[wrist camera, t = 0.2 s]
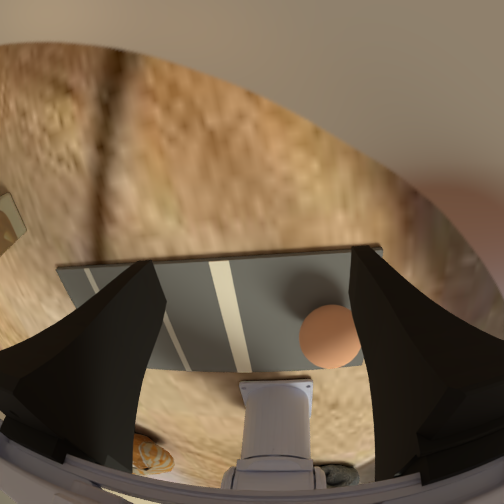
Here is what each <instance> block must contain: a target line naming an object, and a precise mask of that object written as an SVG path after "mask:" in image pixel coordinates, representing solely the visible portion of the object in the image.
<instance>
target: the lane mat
mask: <svg viewBox="0 0 504 504" xmlns="http://www.w3.org/2000/svg"><path fill="white" fill-rule="evenodd" d="M372 249H373V250H374V251H375V252H376V253H377V254H379V255H380V256H381V257H382V256H383V249H382V247H377V248H372ZM132 264H134V263H124V264H107V265H90V266H73V267H58V268H57V269H56V271H57V273H58V275H59V277H60V279H61V281H62V283H63V285H64V287H65V289H66V291H67V293H68V295H69V296H70V298H71V300H72V302H73V304H74V305H75V307H76V309H77V308H78V307H80V306H81V305H82V304H84V303H85V302H86V301H87V300H89V299H90V298H91V297H92V296H94V295H95V294H96V293H98V292H99V291H100V290H101V289H102V288H104V287H105V286H106V285H107V284H108V283H110V282H111V281H112V280H113V279H115V278H116V277H117V276H118V275H119V274H121V273H122V272H123V271H124V270H126V269H127V268H128V267H130V266H131V265H132ZM153 265H154V268H155V270H156V273H157V276H158V279H159V281H160V284H161V287H162V290H163V292H164V295H165V298H166V300H167V304H166V309H165V314H164V318H163V323H162V326H161V329H160V332H159V335H158V337H157V340H156V343H155V346H154V348H153V351H152V354H151V357H150V360H149V362H148V365H147V368H149V369H162V370H178V371H189V372H192V371H200V372H238V373H252V372H277V371H299V370H315V369H327V368H322V367H318V366H316V365H314V364H313V363H311V362H310V361H309V360H308V359H307V358H306V357H305V356H304V354H303V352H302V350H301V347H300V343H299V332H300V328H301V325H302V323H303V321H304V320H305V318H306V317H307V316H308V315H309V314H310V313H311V312H312V311H313V310H315V309H317V308H319V307H321V306H325V305H340V306H343V307H345V308H347V309H349V310H351V306H350V300H349V294H348V290H349V278H350V265H351V249H347V250H332V251H317V252H301V253H286V254H270V255H254V256H238V257H222V258H206V259H190V260H174V261H157V262H153ZM363 358H364V356H363V352H362V349H361V348H360V350H359V352H358V354H357V355H356V356H355V358H354V359H353V360H352V361H350V362H349V363H347V364H346V365H344V366H341V367H350V366H359V365H362V362H363ZM338 368H340V367H338Z"/></svg>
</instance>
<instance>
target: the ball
mask: <svg viewBox="0 0 504 504" xmlns="http://www.w3.org/2000/svg"><path fill="white" fill-rule="evenodd" d="M299 343H300V347H301V350H302V352H303V354H304V356H305V357H306V358H307V359H308V360H309V361H310V362H311V363H313V364H314V365H316V366H318V367H322V368H327V369H333V368H338V367H341V366H344V365H346V364H347V363H349V362H350V361H352V360H353V359H354V358H355V356H356V355H357V354H358V352H359V350H360V348H361V345H360V342H359V338H358V335H357V331H356V328H355V324H354V321H353V317H352V312H351V310H349V309H347V308H345V307H343V306H340V305H325V306H321V307H319V308H317V309H315V310H313V311H312V312H311V313H310V314H309V315H308V316H307V317H306V318H305V320H304V321H303V323H302V325H301V328H300V332H299Z"/></svg>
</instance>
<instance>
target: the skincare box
mask: <svg viewBox="0 0 504 504" xmlns="http://www.w3.org/2000/svg"><path fill="white" fill-rule="evenodd" d="M26 231H27V230H26V228H25V226H24V224H23V222H22V219H21V217H20V215H19V213H18V211H17V208H16V206H15V204H14V202H13V200H12V197H11V195H10V193H6V194H4V195H2V196H0V256H1V255H2V254H3V253H4V252H5V251H6V250H7V249H9V248H10V247H11V246H12V245H13V244H14V243H15V242H16V241H17V240H18V239H19V238H20V237H21V236H22V235H23V234H24V233H25V232H26Z"/></svg>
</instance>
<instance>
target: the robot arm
mask: <svg viewBox="0 0 504 504" xmlns="http://www.w3.org/2000/svg"><path fill="white" fill-rule="evenodd" d="M348 294H349V300H350V306H351V312H352V317H353V321H354V324H355V328H356V331H357V335H358V338H359V342H360V345H361V349H362V352H363V356H364V360H365V363H366V367H367V372H368V377H369V383H370V391H371V399H372V409H373V420H374V436H375V482H372V483H366V484H359V485H352V486H345V487H336V488H326V476H325V472H324V471H323V470H322V469H321V468H320V467H319V466H316V467H313V459H311V451H310V417H311V408H312V393H313V380H311V379H299V380H276V381H241V382H239V388H240V391H241V394H242V397H243V401H244V404H245V407H246V411H245V421H244V431H243V442H242V452H241V459H238V460H237V466H236V467H234V466H232V467H230V468H229V469H228V470H227V471H226V472H225V473H224V476H223V479H222V483H221V489H220V488H210V487H201V486H193V485H186V484H180V483H174V482H168V481H162V480H157V479H152V478H148V477H143V476H139V475H134V474H132V473H133V441H134V430H135V420H136V414H137V407H138V401H139V396H140V391H141V386H142V381H143V378H144V374H145V371H146V368H147V365H148V362H149V360H150V357H151V354H152V351H153V348H154V346H155V343H156V340H157V337H158V335H159V332H160V329H161V326H162V323H163V318H164V314H165V309H166V304H167V300H166V298H165V295H164V292H163V290H162V287H161V284H160V281H159V279H158V276H157V273H156V270H155V268H154V265H153V262H152V260H145V261H137V262H135V263H134V264H132V265H131V266H130V267H128V268H127V269H126V270H124V271H123V272H122V273H121V274H119V275H118V276H117V277H116V278H115V279H113V280H112V281H111V282H110V283H108V284H107V285H106V286H105V287H104V288H102V289H101V290H100V291H99V292H98V293H96V294H95V295H94V296H92V297H91V298H90V299H89V300H87V301H86V302H85V303H84V304H82V305H81V306H80V307H78V308H77V309H76V310H74V311H73V312H72V313H70V314H69V315H67V316H66V317H64V318H63V319H61V320H60V321H58V322H57V323H55V324H54V325H52V326H50V327H48V328H47V329H45V330H43V331H42V332H40V333H38V334H36V335H35V336H33V337H31V338H29V339H27V340H25V341H23V342H20V343H18V344H16V345H14V346H11V347H9V348H6V349H4V350H1V351H0V411H1V412H3V413H4V414H5V415H6V417H5V419H4V421H3V420H1V419H0V490H1V491H2V492H4V493H5V494H6V495H7V496H9V497H10V498H11V499H12V500H14V501H15V502H16V503H17V504H133V503H131V502H129V501H127V500H125V499H123V498H122V497H120V496H117V495H115V494H112V493H109V492H107V491H104V490H102V488H106V489H108V490H111V491H115V492H118V493H122V494H125V495H128V496H132V497H136V498H140V499H144V500H148V501H152V502H157V503H161V504H504V340H501V339H499V338H496V337H494V336H492V335H490V334H488V333H486V332H484V331H482V330H480V329H478V328H476V327H474V326H472V325H470V324H468V323H467V322H465V321H463V320H462V319H460V318H458V317H456V316H455V315H453V314H452V313H450V312H448V311H447V310H445V309H444V308H442V307H441V306H440V305H438V304H437V303H435V302H434V301H432V300H431V299H430V298H428V297H427V296H426V295H424V294H423V293H422V292H421V291H419V290H418V289H417V288H416V287H414V286H413V285H412V284H411V283H409V282H408V281H407V280H406V279H405V278H404V277H403V276H401V275H400V274H399V273H398V272H397V271H396V270H395V269H394V268H392V267H391V266H390V265H389V264H388V263H387V262H386V261H385V260H384V259H383V258H382V257H381V256H380V255H379V254H377V253H376V252H375V251H374V250H373V249H372V248H371V247H370V246H369V245H367V246H353V247H352V249H351V265H350V278H349V290H348ZM101 487H102V488H101Z"/></svg>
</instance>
